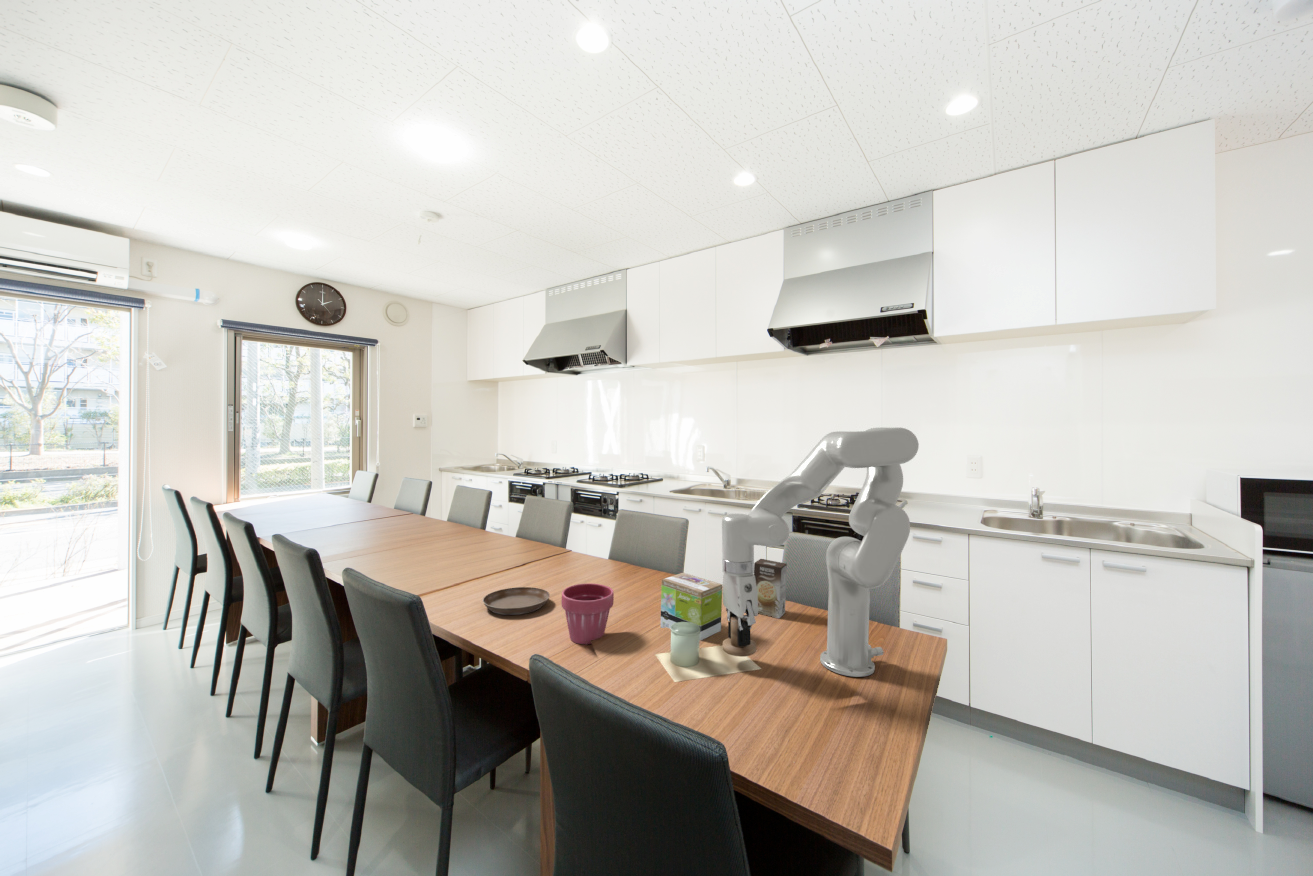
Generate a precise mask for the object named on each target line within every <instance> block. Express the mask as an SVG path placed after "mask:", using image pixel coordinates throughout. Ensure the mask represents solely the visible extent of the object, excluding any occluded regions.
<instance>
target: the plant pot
mask: <svg viewBox="0 0 1313 876" xmlns="http://www.w3.org/2000/svg"><path fill="white" fill-rule="evenodd" d="M614 593H615V592H614V589H613V588H611V586H610V587H609V586H607V585H605V584H600V583H590V582H589V583H586V582H585V583H578V584H573V585H570V586H567V587H566V588H564V589H563V591H562V592H561V608H562V609H563V611H564V612H565V618H566V623H567V629H568V634H569V639H570V641H572V642H573V643H574V644H579V645H592V641H594V640H598V639H600V638H602V637H603V636H604V635H605V632H606V628H607V623H608V618H609V614H610V610H611V608H612V607H613V606H614V602H615V601H614V597H615V596H614V595H615V594H614Z"/></svg>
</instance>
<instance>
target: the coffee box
mask: <svg viewBox="0 0 1313 876" xmlns="http://www.w3.org/2000/svg"><path fill="white" fill-rule="evenodd" d="M787 567H788V564H787V563H785V562H781V561H776V560H769V559H764V558H760V559H758V560H756V561H754V575H755V580H756V587H757V597H758V613H760V614H759V615H762V614H763V615H762V616H766V615H768V616H767V617H770V616H772V617H771V618H775V619H780V618H781V617H783V615H785V613H786V598H787V597H786V595H787V593H786V591H787V590H786V589H787V573H788V570H787V569H788V568H787Z"/></svg>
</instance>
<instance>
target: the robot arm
mask: <svg viewBox="0 0 1313 876" xmlns="http://www.w3.org/2000/svg"><path fill="white" fill-rule="evenodd" d="M919 447H920V446H919V440H918V438H917V436H916V434H915V433H913V432H912V431H911V430H909V429H908V428H906V427H905V428H903V427H873V428H868V429H866V430H863V431H857V430H856V431H831V432H828V433H827V434H825V435H824V436H823V437H822V438H821V439H820V440H819V441H818V442H817V444H816V445H815V447H813V448H812V449H811V451H810V452H809V453H808V454H807V455H806V456H805V458H804V459H803V460H802V461H800V463H799V465H797V467H796V468H795V469H794V470H793V471H792V472H791V473H790V474H789V475H788V476H786V477H785V478H783V479H782V480H781V481H779V482H778V483H777V484H775V485H774V486H772V488H770V489H769V490H768V491H767V492H766V493H764V494H763V496H762V497H761V498H760V499H759V500H758V501H757V503H755V505H754V506H753V507H752V508H751V510H750V511H749V513H748V514H746V513H745V514H744V513H728V514H725V515H724V516H723V518H722V519H721V548H722V549H721V550H722V551H721V552H722V557H721V559H722V573H723V574H722V605H723V606H724V607H725V611H726V613H727V616H726V619H727V628H728V629H727V631H728V632H727V633H728V634H727V636H728V637H727V638H730V639H731V617H734V616H738V624H739V629H737V642H738V646H739V647H741V646H746V645H750V644H751V640H752V639H751V629H752V626H753V625H754V624H756V622H757V620H756V617H757V616H758V615H759V614H758V597H757V587H756V580H755V575H754V563H755V554H754V553H755V551H754V550H755V549H754V548H755V546H762V547H769V548H770V547H771V548H772V547H778V546H779V547H780V546H781V545H783V544H785V543H786V541H787V540H788V539H789V537H790V527H789V524H788V523H787V522H786V521H785V520H784V519H783V517H784V516H785V514H786V513H788V512H789V511H790V510H791V509H793V508H794V507H796V506H797V505H800V504H803V503H806V502H810V501H812V500H815V499H817V498H819V497H820V496H822V494H824V492H825V491H826V490H827V488H828V487H829V486H830V485H831V484H832V483H833V481H834V480H835V479H837V477H838V476H839V475H840V474H841V472H842V471H843V470H844V469H845V468H849V469H866V476H865V479H864V481H863V484H862V487H861V489H860V491H859V493H858V495H857V497H856V499H855V502H854V504H853V505H852V508H851V510H850V513H849V516H848V524H849V526H850V528H851V529H852V530H853V531H854V532H855V533H857V534H859V535H861V536H863V538H862V540H859V539H858V538H855V537H852V536H840V537H837V538H835V539H834V540H832V541H831V542H830V543H829V545H828V547H827V549H826V554H825V563H826V568H827V578H828V579H827V580H828V599H827V600H828V601H827V635H826V638H827V639H826V650H823V652H821V653H820V656H819V658H820V660H819V661H820V663H821V664H822V666H823V667H824V668H825V669H828V670H829V671H832V672H834V673H836V674H839V675H842V676H847V677H852V678H853V677H855V678H858V677H859V678H862V677H868V676H871V675H873V674H874V673H875V670H876V669H875V667H876V666H875V663H874V662H873V660H872V659H873V658H874V657H878V656H883V655H884V649H883V648H882V647H881V646H876V647H872V645H870V644H869V637H870V636H869V635H870V633H869V630H870V629H869V628H870V607H871V606H870V604H871V601H870V600H871V598H870V597H871V595H870V594H871V593H870V589H876V588H877V589H878V588H879V587H882V586H883V585H884V584H885V583H886V582H887V581H888V580H889V578H890V576H891V575H892V573H893V571H894V569H895V567H896V565H897V563H898V561H899V559H900V557H901V554H902V552H903V550H904V547H905V546H906V544H907V541H908V539H909V536H910V532H911V522H910V517H909V516H908V513H906V511H905V510H904V509H903V508H902V507H900V506H899V505H898V504H897V502H898V500H899V497H900V495H901V492H902V488H903V485H904V474H903V470H902V466H901V464H906V463H908V462H910V461H912V459H914V458H915V456H916V455H917V453H918V451H919ZM742 619H746V621H744V622H742Z"/></svg>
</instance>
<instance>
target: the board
mask: <svg viewBox="0 0 1313 876" xmlns="http://www.w3.org/2000/svg"><path fill="white" fill-rule="evenodd" d="M670 654H671V651H669V652H662V653H655V654H654V655H655V657H656V658H657V659H658V661H659V662H660V664H661V665H662V666H663V668H664V670H665V671H666V672H667V674H668V675H669V676H670V678H671V680H672V681H673V682H674V683H677V682H678V683H680V682H685V681H686V682H687V681H692V680H693V681H694V680H698V679H699V680H700V679H705V678H711V677H718V676H724V675H730V674H731V675H733V674H738V673H744V672H750V671H757V670H762V668H761V667H760V666H759V665H758V664H757V663H756V662H755V661H753V660H752V659H751V658H750V657H749V656H743V657H740V656H733V655H730V654H727V653H726V652H724V650H723V644H722V645H715V646H707V647H702V648H701V647H699V663H698V664H697V665H695V666H692V667H680V666H676V665H674V664H673V663H672V662H671V661H670Z"/></svg>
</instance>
